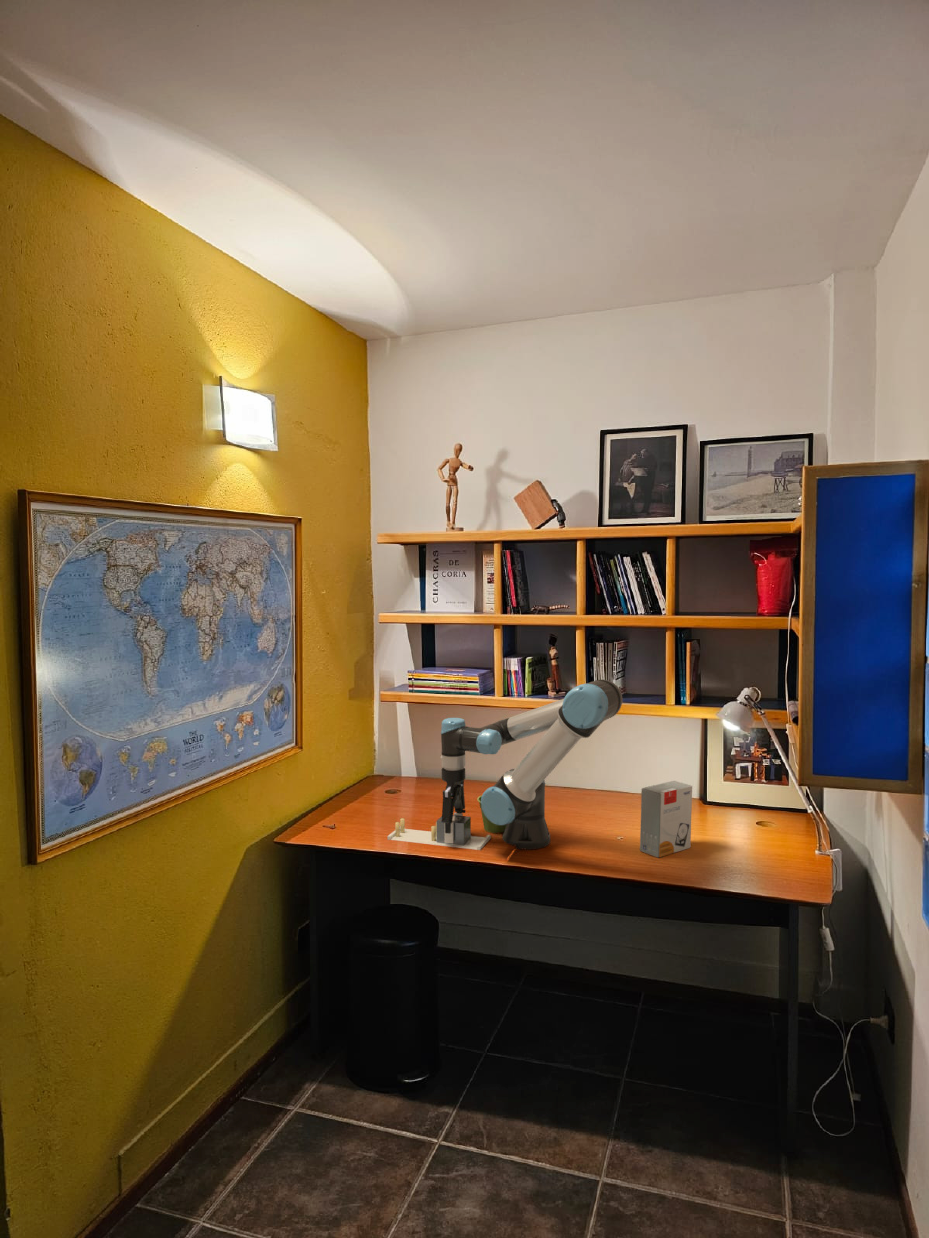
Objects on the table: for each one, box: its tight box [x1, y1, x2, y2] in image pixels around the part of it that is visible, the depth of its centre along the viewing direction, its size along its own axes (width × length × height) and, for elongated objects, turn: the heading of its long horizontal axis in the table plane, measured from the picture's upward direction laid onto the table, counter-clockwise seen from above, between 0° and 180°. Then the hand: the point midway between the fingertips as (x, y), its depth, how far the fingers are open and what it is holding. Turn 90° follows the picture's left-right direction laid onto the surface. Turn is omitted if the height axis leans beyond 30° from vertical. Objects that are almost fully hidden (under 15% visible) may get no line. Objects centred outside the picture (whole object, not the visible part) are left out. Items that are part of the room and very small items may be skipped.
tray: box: [387, 817, 491, 851], centre depth 255 cm, size 31×11×6 cm, turn 71°
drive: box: [436, 814, 472, 846], centre depth 253 cm, size 9×7×7 cm
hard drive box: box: [639, 780, 693, 858], centre depth 246 cm, size 16×8×20 cm, turn 126°
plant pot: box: [476, 795, 506, 834], centre depth 263 cm, size 12×12×11 cm
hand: (453, 837), depth 253 cm, fingers open, 8 cm apart
